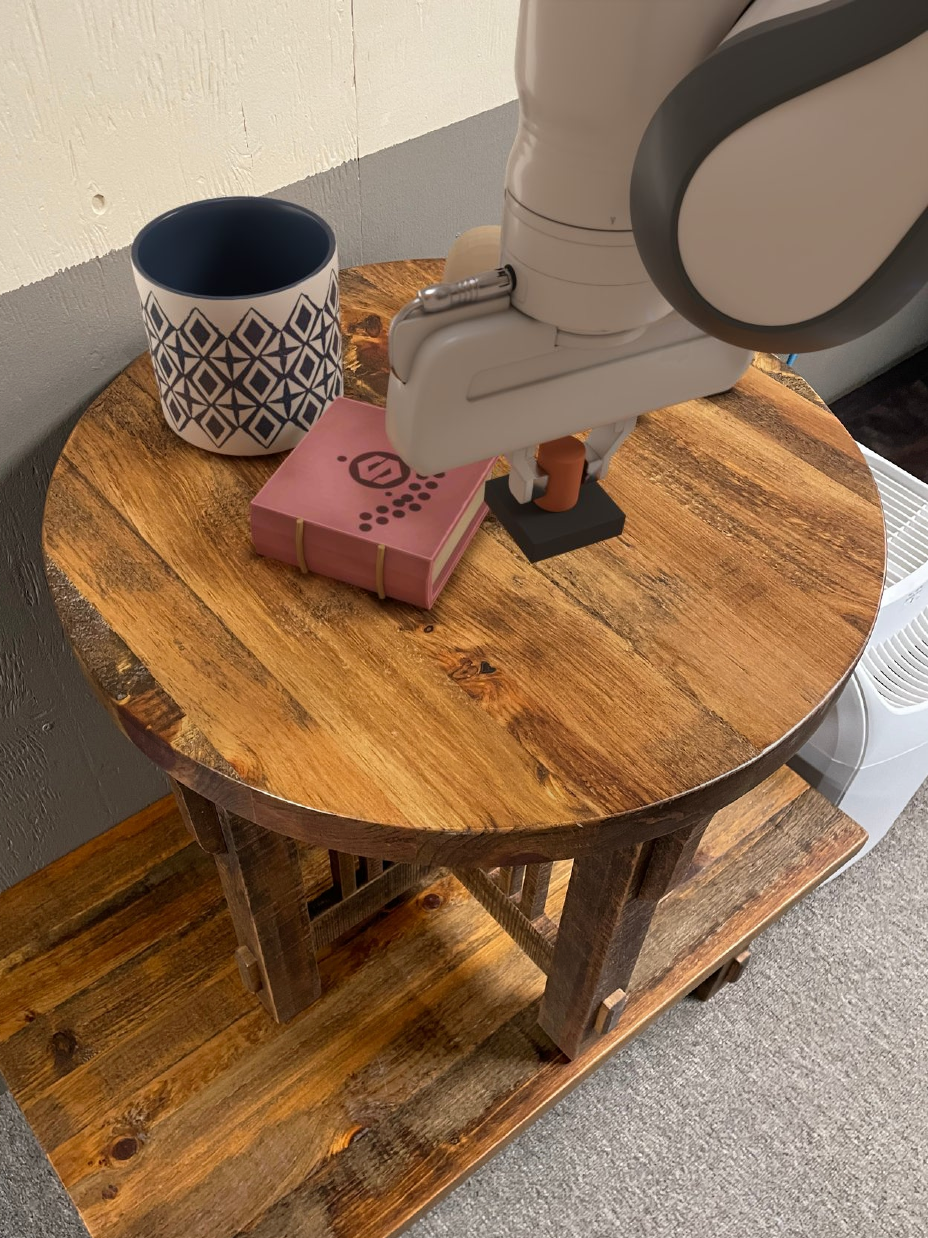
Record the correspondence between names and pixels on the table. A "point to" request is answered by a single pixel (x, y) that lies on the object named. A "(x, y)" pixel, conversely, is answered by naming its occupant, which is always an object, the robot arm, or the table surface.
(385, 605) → the table surface
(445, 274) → the decorative ornament
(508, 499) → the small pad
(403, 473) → the book
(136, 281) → the planter
